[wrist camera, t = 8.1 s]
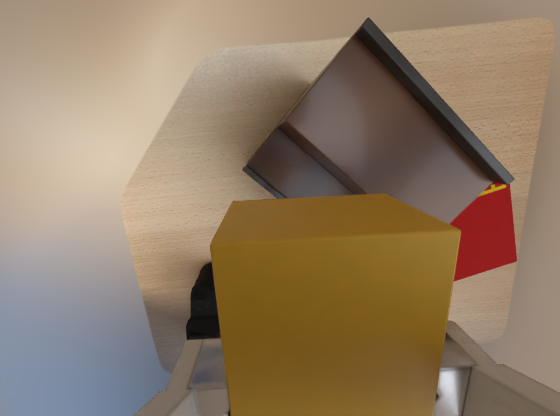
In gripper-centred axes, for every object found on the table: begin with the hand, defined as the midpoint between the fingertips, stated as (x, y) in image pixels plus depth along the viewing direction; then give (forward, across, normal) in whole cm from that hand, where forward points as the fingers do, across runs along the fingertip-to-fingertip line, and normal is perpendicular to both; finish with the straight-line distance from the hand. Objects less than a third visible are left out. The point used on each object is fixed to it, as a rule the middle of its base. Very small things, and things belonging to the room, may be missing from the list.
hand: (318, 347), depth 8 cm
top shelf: (+12, -8, -5) cm, 15 cm away
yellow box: (+2, 0, 0) cm, 2 cm away
